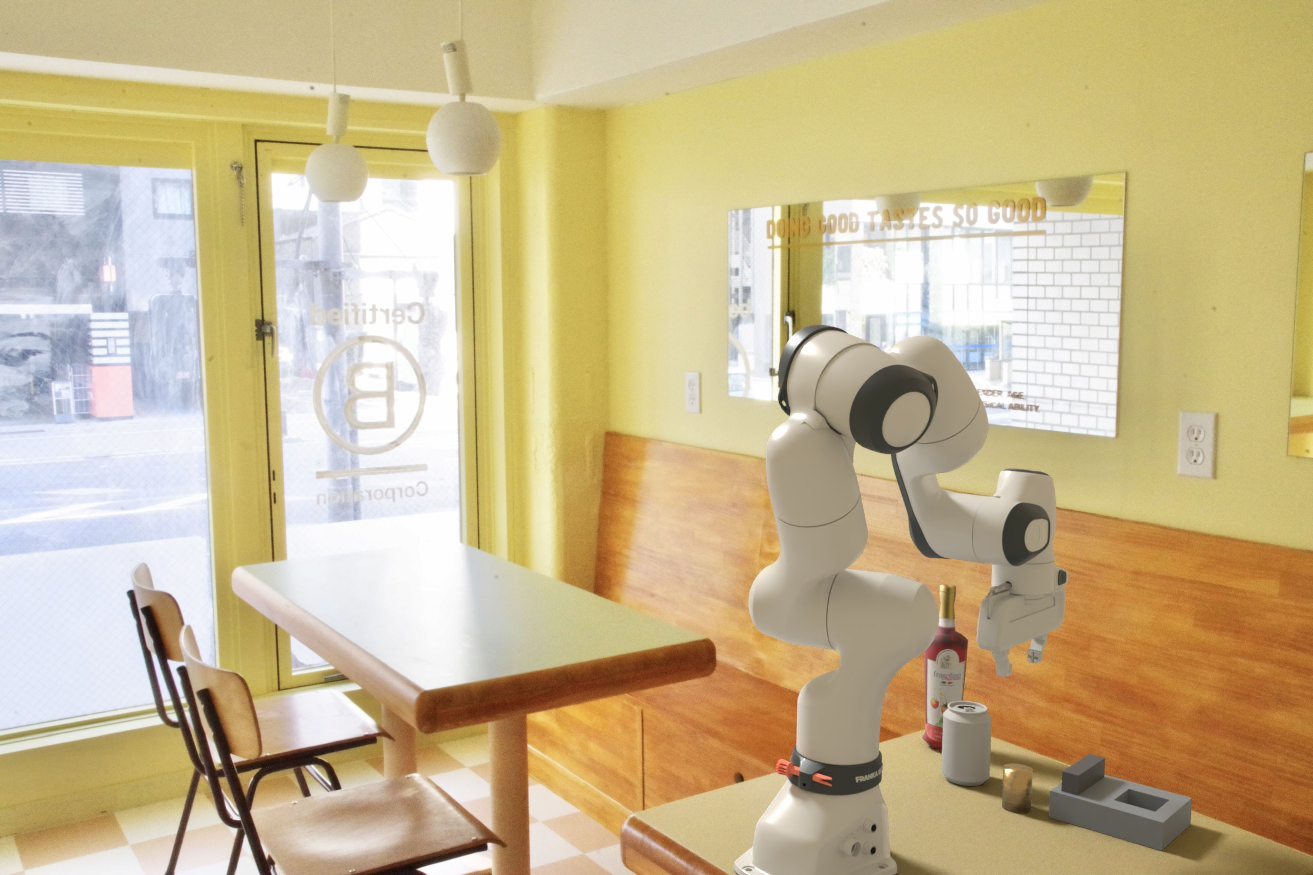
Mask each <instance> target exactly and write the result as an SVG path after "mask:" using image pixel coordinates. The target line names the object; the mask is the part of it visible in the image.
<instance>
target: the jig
mask: <svg viewBox="0 0 1313 875" xmlns="http://www.w3.org/2000/svg"><path fill="white" fill-rule="evenodd" d="M1105 770H1106V757H1105V756H1100V755H1095V754H1092V753H1088V754H1087V755H1086V756H1083V757H1082V758H1081V759H1079V760H1077V761H1075V763H1072V764H1071V765H1070V766H1068V767H1067V768H1065V769H1064V770H1062V772H1061V783H1060V784H1057V785H1056V786H1055V787H1052V789H1049V804H1048V805H1049V806H1048V818H1050V819H1054V820H1057V821H1061V822H1064V823H1067V824H1071V825H1074V826H1077V827H1081V828H1084V829H1087V830H1091V831H1094V832H1097V833H1100V834H1103V835H1108V836H1110V837H1114V838H1117V839H1120V840H1124V841H1128V842H1131V843H1134V844H1138V845H1139V846H1140V845H1141V846H1144V847H1147V848H1150V849H1153V850H1158V851H1163V850H1165V848H1166V847H1168V846H1169V845H1170V844H1171V843H1172V842H1174V840H1176V838H1177V837H1178V836H1180V835H1181V834H1182V833H1183V832H1184V831H1185V830H1186V829H1188V828H1189V827H1190V826H1191V825H1192V824H1191V823H1192V805H1193V803H1192V802H1193V797H1189V796H1187V795H1183V794H1179V793H1175V792H1171V791H1168V790H1165V789H1164V790H1163V789H1160V788H1157V787H1152V786H1149V785H1145V784H1141V783H1137V782H1133V781H1130V780H1126V779H1123V778H1118V777H1116V776H1111V775H1107V774H1105V773H1106V772H1105Z"/></svg>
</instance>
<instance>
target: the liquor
mask: <svg viewBox="0 0 1313 875" xmlns="http://www.w3.org/2000/svg"><path fill="white" fill-rule="evenodd" d="M956 592H957V586H956V585H953V584H940V585H939V600H940V608H939V626H938V631H937V634H936V636H935V638H934V640H933V642H932V643H931V645H930V646H929V647H928V648H927V649H926V650H925V651H924V652H923V654H924V659H923V660H924V661H923V662H924V663H923V664H924V666H923V667H924V688H925V689H924V691H925V692H924V695H925V696H924V698H925V700H924V702H925V705H924V706H925V708H924V709H925V712H924V714H925V715H924V716H925V718H924V719H925V720H924V733H923V735H922V737H921V738H922V739H923V740H924V742H925V743H926V744H927V745H928V746H929V747H930V748H931V749H934V750H937V751H942V738H943V713H944V712H945V711H946V710H947V709H948V704H949V703H950V702H953V701H964V692H965V681H966V673H967V658H968V648H969V639H968V638H967V637H966V636H965V635H963V633H960V632H958V631H957V630H956V614H955V601H956V596H957V593H956Z"/></svg>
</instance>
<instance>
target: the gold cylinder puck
mask: <svg viewBox="0 0 1313 875" xmlns="http://www.w3.org/2000/svg"><path fill="white" fill-rule="evenodd" d="M1033 774H1034V769H1033V768H1032V767H1031V766H1028V765H1025V764H1022V763H1021V764H1020V763H1006V764H1004V765H1003V769H1002V793H1001V794H1002V796H1001V808H1003V809H1004V810H1005V811H1007V812H1010V813H1013V814H1027V813H1030V812H1032V801H1033V800H1032V799H1033V776H1034V775H1033Z"/></svg>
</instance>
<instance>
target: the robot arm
mask: <svg viewBox="0 0 1313 875" xmlns="http://www.w3.org/2000/svg"><path fill="white" fill-rule="evenodd" d="M777 374H778V378H777V379H778V384H779V391H778V394H777V395H778V396H777V401H778V404H779V406H780V408H781V410H782V411H783V413H785V415H787V416H788V419H786V420H785V421H784V422H782V423H780V424H779V425H778V426H776V428H775V429H774V430H773V431H772V432H771V434H770V435H769V437H768V439H767V442H766V444H765V445H766V446H765V474H766V482H767V488H768V495H769V500H770V504H771V508H772V513H773V516H774V520H775V526H776V529H777V535H778V540H779V547H780V549H779V555H778V558H776V560H775V561H774V562H772V563H771V564H770V565H767V566H766V567H764V568H763V569H762V570H760V572H759V573H758V574H757V575H756V577H755V578H754V579H753V582H752V584H751V587H750V589H749V591H748V592H749V593H748V600H747V601H748V612H749V615H750V619H751V621H752V623H753V625H754V626H755V628H756V629H757V631H758V632H759V633H761V634H763V635H766V636H768V637H770V638H774V639H776V640H779V641H780V642H785V643H787V644H790V645H796V646H803V647H809V648H817V649H825V650H829V651H830V650H831V651H835V652H838V653H839V664H838V668H837V669H834V670H832V671H829V672H828V671H827V672H825V673H822V674H820V675H818V676H816V677H814V678H812V679H810V680H809V681H807V682H806V683H805V684H804V686H802V688H801V690H800V691H799V694H798V696H797V705H796V706H797V707H796V708H797V709H796V743H795V746H794V747H793V749H792V753H791V755H790V758H789V761H788V760H786V759H784V758H780V759H779V760H778V761H777V762H776V765H775V772H776V773H777V774H778V775H779V776H785V777H787V778H786V781H785V782H784V784H783V786H782V787H781V788H780V790H779V791H778V793H777V794H776V795H775V797H774V798H773V799H772V801H771V802H770V804H769V806H768V807H767V808H766V809H765V811H763V814H762V815H761V817H760V818H759V819H758V820H757V822H756V825H755V828H754V835H753V841H752V842H753V843H752V846H751V847H750V848H749V849H747V850H746V851H745V852H744V853H742V854H741V855H740V856H739V857H738V858H736V860H734V863H733V869H734V871H735V873H737V875H896V874H897V873H898V864H897V862H896V861H895V859H894V858H892V856H891V846H890V845H891V842H890V827H889V825H890V824H889V812H888V811H889V810H888V807H887V804H886V802H885V799H884V796H883V794H882V792H881V788H880V783H881V782H882V780H883V776H882V775H883V771H884V770H883V768H884V763H883V754H882V751H881V750H880V737H881V736H880V735H881V722H882V713H883V705H884V701H885V700H884V699H885V697H886V694H887V690H888V689H889V686H890V684H891V682H892V681H893V679H894V678H895V676H896V675H897V674H898V672H899V671H900V670H902V668H904V666H906V665H907V664H908V663H909V662H911V661H912V660H914V659H915V658H918V657H919V656H920V655H922V654H924V651H925V650H926V649H927V648H928V647H929V646H930V645H931V643H932V642H933V640H934V638H935V636H936V634H937V631H938V626H939V614H940V609H939V606H938V602H937V599H936V598H935V596H934V594H933V592H932V591H931V589H930V588H929V587H928V586H927V584H926V583H923V582H920V581H917V580H914V579H911V578H909V577H904V576H901V575H899V574H895V573H890V572H880V571H872V570H862V569H854V568H853V569H852V568H849V567H850V566H852V564H854V563H855V562H856V561H857V560H859V558H860V557H861V556H862V555H863V552H864V551H865V549H866V546H867V544H868V539H869V530H868V526H867V525H868V524H867V520H866V515H865V509H864V505H863V499H862V495H861V494H862V493H861V489H860V485H859V481H858V476H857V474H856V473H857V472H856V470H855V467H854V454H855V447H856V444H858V445H859V446H861V447H862V448H864V449H866V450H869V451H872V452H874V453H878V454H884V455H890V460H891V465H892V469H893V472H894V476H895V478H896V479H895V480H896V482H897V485H898V488H899V491H900V493H901V494H900V495H901V498H902V501H903V503H904V507H905V510H906V513H907V519H908V530H909V536H910V538H911V540H912V542H913V544H914V546H915V547H916V549H917V550H918V551H919V552H920V554H922V556H924V557H926V558H929V559H939V560H940V559H941V560H942V559H943V560H957V561H962V562H970V563H976V564H984V565H985V564H986V565H991V584H990V585H991V586H990V588H989V592H988V594H987V595H986V596H985V597H984V598H983V599H982V601H981V603H980V606H979V611H978V612H979V613H978V619H977V628H976V643H977V646H978V648H979V649H981V650H985V651H989V652H991V655H992V657H993V660H994V662H995V674H996V676H998V677H1002V678H1007V677H1009V676H1011V675H1012V674H1013V670H1012V669H1013V663H1010V661H1009V660H1010V658H1009V655H1010V653H1011V648H1014V647H1016V646H1018V645H1021V644H1024V643H1027V642H1028V641H1031V642H1030V646H1029V649H1028V650H1027V652H1026V653H1027V654H1026V655H1027V657H1026V660H1027V662H1028V663H1032V664H1038V663H1041V662H1042V661H1043V657H1044V656H1043V655H1044V650H1045V648H1046V647H1045V646H1046V644H1047V641H1048V639H1049V638H1048V637H1049V636H1048V635H1049V634H1048V633H1051V632H1053V631H1055V630H1059V629H1060V628H1061V626H1062V624H1063V622H1064V617H1065V610H1066V609H1065V608H1066V587H1065V585H1067V584H1068V582H1069V571H1068V570H1067V569H1065V568H1063V567H1060V566H1057V565H1056V555H1055V552H1054V546H1053V545H1054V538H1055V535H1056V532H1057V497H1056V488H1055V483H1054V479H1053V477H1052V476H1051V475H1049V474H1048V473H1046V472H1044V471H1039V470H1031V469H1022V468H1006V469H1003V470H1001V471H1000V473H999V475H998V479H997V484H996V488H995V490H996V491H995V493H994V494H993V495H992V496H989V495H988V496H987V495H980V494H979V495H978V494H969V493H962V492H956V491H953V490H948V489H945V488H944V487H941V486H940V485H939V481H938V477H937V474H938V475H939V474H945V473H946V474H947V473H950V472H951V473H952V472H953V471H956V470H958V469H960V468H962V467H963V466H965V465H967V464H968V463H970V462H971V461H972V460H973V459H975V457H976V456H977V455H978V454H979V453H980V451H981V450H982V448H983V447H984V444H985V442H986V441H987V436H988V433H989V429H990V428H989V426H990V425H989V418H988V414H987V410H986V408H985V405H984V403H983V400H982V397H981V396H980V394H979V392H978V390H977V388H976V386H975V384H974V382H973V380H972V378H971V377H970V375H969V373H968V371H967V370H966V369H965V367H964V365H963V364H962V363H961V361H960V360H959V359H958V358H957V356H956V355H955V354H954V352H953V351H952V350H951V349H950V348H949V347H948V345H947V344H945V343H944V342H943V341H942V340H940V339H938V338H935V337H933V336H930V335H929V336H928V335H914V336H909V337H907V338H904V339H902V340H899V342H897V343H894V345H892V346H891V347H890V348H889V349H888V350H887V352H885V351H884V350H882V349H881V348H880V347H878V346H877V345H875V344H874V343H871V342H869V341H868V340H864V339H863V338H860V337H858V336H856V335H853V334H850V333H848V332H847V331H846V330H844V329H842V328H839V327H837V326H833V325H832V326H831V325H826V324H812V325H806V326H804V327H802V328H801V329H799V330H798V331H796V332H795V333H793V335H792V336H791V337H790V338H789V339H788V341H787V342H786V344H785V345H784V348H783V350H782V351H781V355H780V358H779V362H778V372H777ZM783 402H784V403H785V405H784V404H783Z"/></svg>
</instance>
